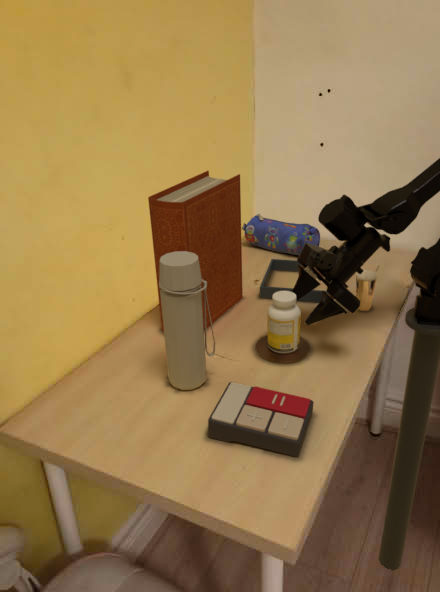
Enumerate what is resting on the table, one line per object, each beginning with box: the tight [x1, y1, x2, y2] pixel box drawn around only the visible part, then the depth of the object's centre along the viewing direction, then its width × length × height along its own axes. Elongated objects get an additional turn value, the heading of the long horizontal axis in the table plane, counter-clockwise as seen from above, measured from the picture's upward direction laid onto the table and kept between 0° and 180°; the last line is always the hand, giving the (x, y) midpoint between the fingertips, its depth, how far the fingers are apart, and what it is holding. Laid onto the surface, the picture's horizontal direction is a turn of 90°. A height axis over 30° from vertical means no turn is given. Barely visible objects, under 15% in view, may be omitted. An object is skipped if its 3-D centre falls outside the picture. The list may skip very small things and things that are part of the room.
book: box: [147, 170, 243, 333], centre depth 117 cm, size 23×8×30 cm, turn 149°
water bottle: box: [159, 251, 216, 391], centre depth 96 cm, size 9×8×25 cm
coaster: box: [255, 334, 311, 365], centre depth 110 cm, size 11×11×1 cm
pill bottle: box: [267, 291, 302, 354], centre depth 107 cm, size 6×6×12 cm
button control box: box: [207, 381, 314, 458], centre depth 89 cm, size 11×4×15 cm
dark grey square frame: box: [259, 258, 330, 304], centre depth 135 cm, size 17×17×3 cm
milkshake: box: [355, 265, 380, 312], centre depth 122 cm, size 4×5×10 cm
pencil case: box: [241, 213, 321, 257], centre depth 154 cm, size 22×9×10 cm, turn 53°
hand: (297, 312), depth 107 cm, fingers open, 9 cm apart
